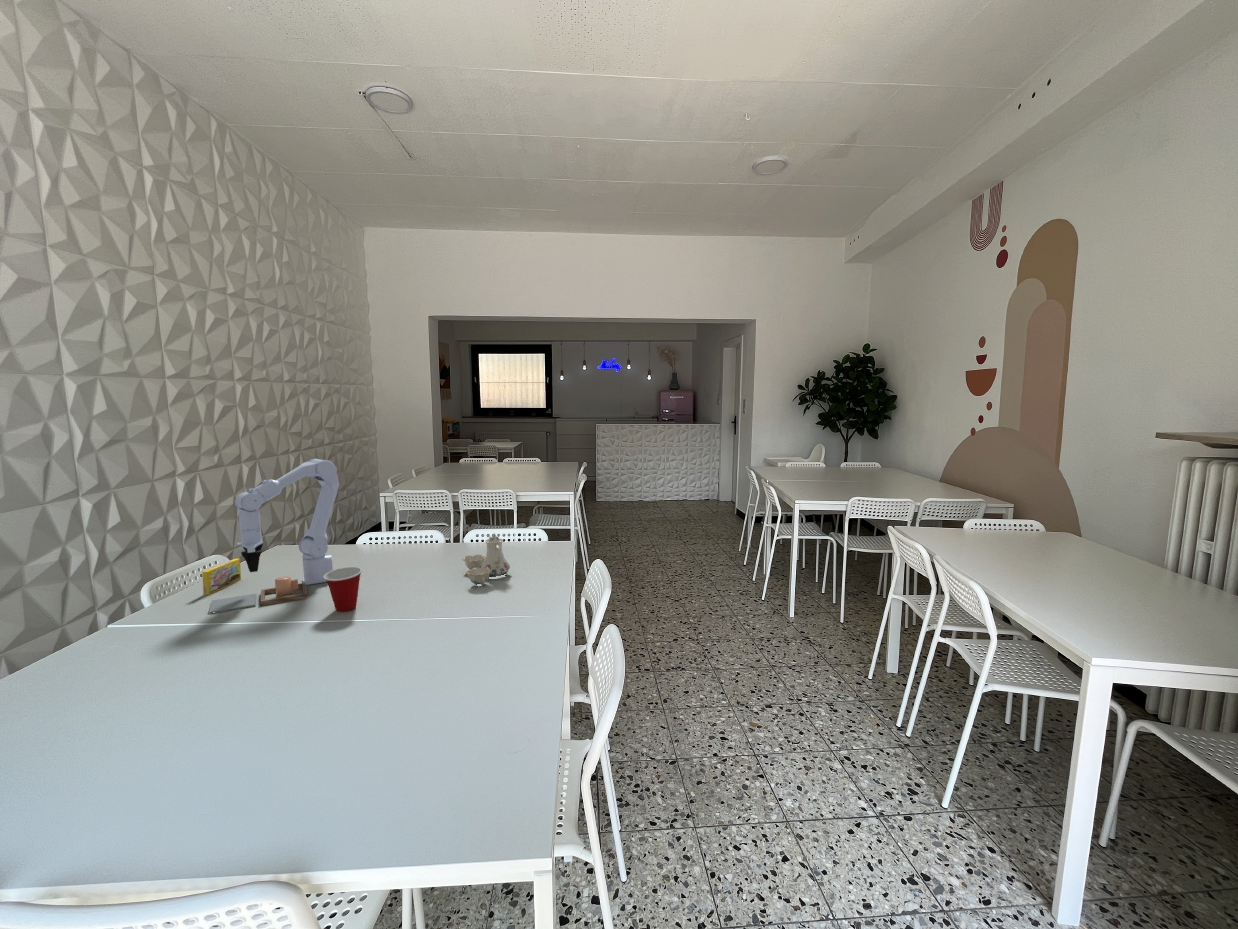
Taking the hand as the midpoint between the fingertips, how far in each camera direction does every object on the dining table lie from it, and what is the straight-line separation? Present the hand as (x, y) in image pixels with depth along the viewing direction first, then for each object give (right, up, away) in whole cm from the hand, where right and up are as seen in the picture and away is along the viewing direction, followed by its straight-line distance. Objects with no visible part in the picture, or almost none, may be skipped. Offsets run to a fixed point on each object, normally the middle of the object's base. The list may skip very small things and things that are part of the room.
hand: (254, 568), depth 187 cm
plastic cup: (+36, -11, -11) cm, 39 cm away
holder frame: (+10, -9, +1) cm, 13 cm away
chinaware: (+73, -7, +20) cm, 76 cm away
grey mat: (-2, -10, -7) cm, 12 cm away
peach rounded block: (+10, -9, +1) cm, 13 cm away
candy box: (-17, -9, +10) cm, 22 cm away
